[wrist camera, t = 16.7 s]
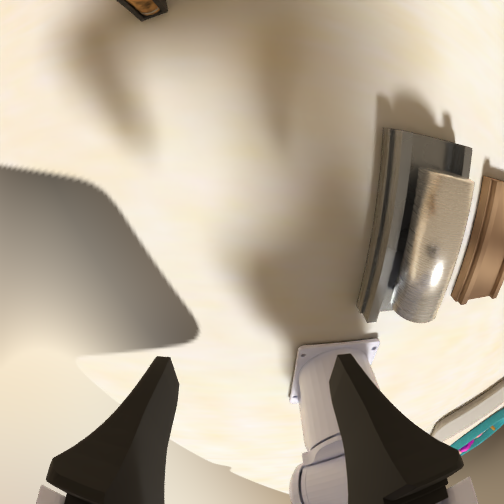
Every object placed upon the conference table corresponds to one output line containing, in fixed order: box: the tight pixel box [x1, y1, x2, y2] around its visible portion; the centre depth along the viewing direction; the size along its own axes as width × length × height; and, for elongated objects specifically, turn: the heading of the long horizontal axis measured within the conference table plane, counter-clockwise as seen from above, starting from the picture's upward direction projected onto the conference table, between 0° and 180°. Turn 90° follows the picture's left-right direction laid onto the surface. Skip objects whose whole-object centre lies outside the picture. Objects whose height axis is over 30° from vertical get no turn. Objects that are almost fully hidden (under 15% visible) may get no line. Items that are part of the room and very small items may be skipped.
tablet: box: [431, 379, 504, 442], centre depth 37 cm, size 16×26×2 cm, turn 112°
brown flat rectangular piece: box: [451, 176, 504, 305], centre depth 18 cm, size 12×7×2 cm, turn 0°
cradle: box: [357, 128, 472, 323], centre depth 17 cm, size 14×7×2 cm, turn 0°
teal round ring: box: [451, 408, 504, 455], centre depth 50 cm, size 30×30×6 cm
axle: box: [391, 166, 475, 323], centre depth 16 cm, size 10×4×4 cm, turn 1°
